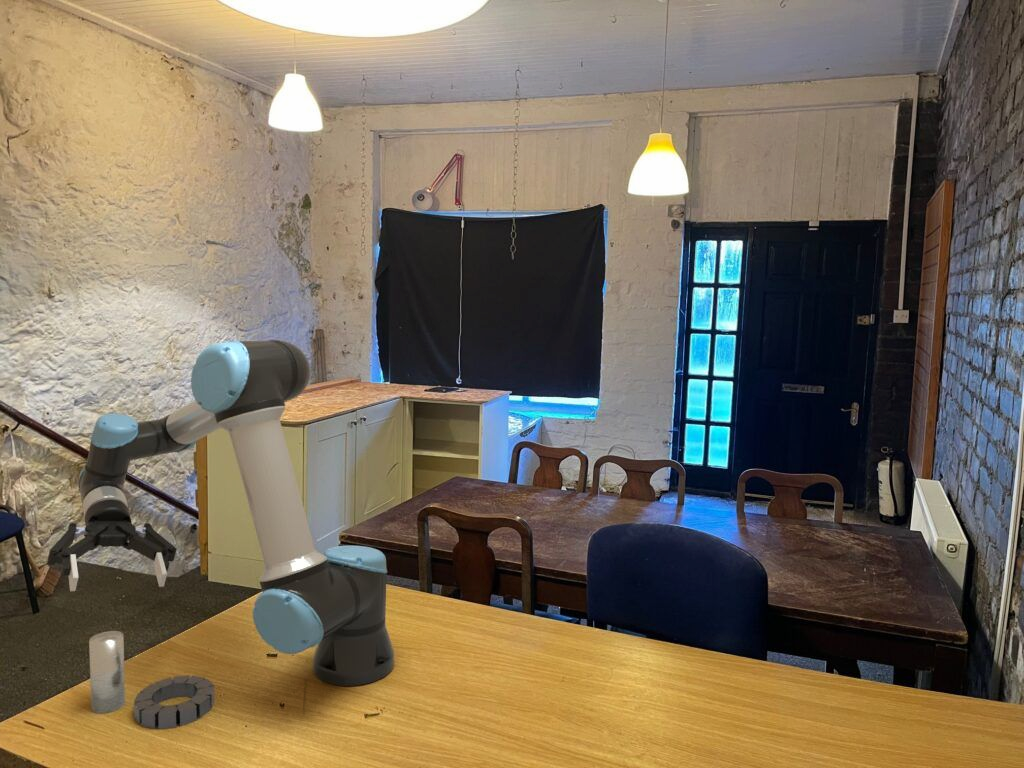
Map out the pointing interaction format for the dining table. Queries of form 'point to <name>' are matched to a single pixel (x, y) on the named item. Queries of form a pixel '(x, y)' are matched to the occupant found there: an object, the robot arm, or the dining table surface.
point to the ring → (172, 715)
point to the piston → (107, 671)
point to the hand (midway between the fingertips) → (120, 582)
